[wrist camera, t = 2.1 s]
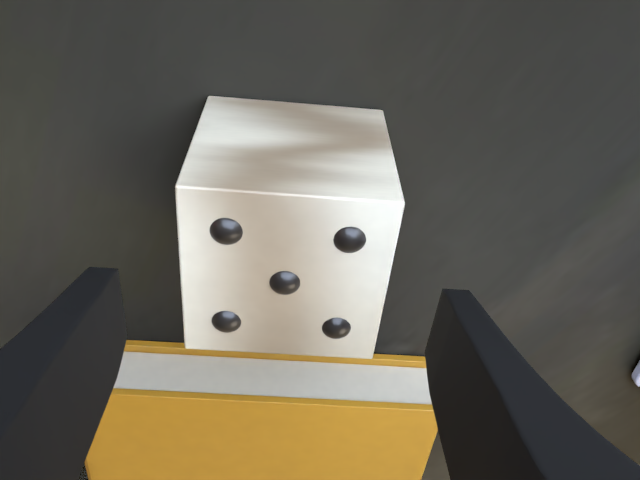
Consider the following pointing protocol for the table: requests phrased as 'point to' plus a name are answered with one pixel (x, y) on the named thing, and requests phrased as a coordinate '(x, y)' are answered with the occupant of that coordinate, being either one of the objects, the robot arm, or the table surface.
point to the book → (263, 417)
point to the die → (286, 228)
